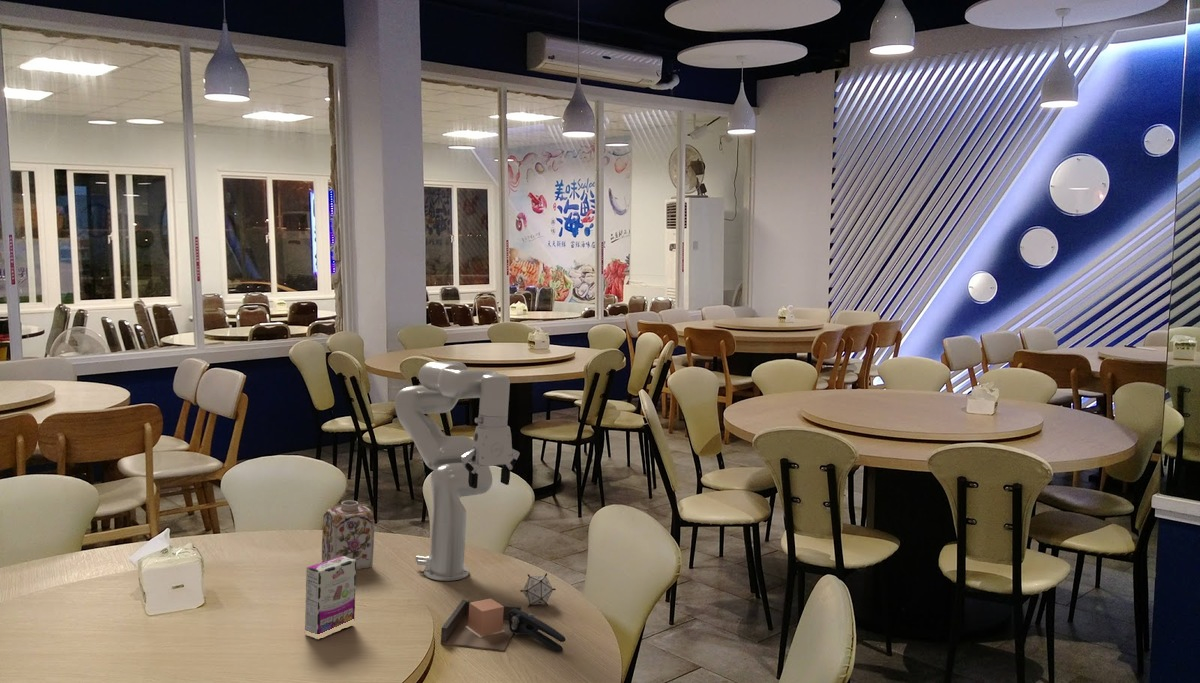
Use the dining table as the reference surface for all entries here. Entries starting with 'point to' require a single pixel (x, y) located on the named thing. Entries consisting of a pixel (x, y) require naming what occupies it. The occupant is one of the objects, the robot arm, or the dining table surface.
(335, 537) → the decorative jar
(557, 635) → the can opener
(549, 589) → the game die
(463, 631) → the tray
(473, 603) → the cube
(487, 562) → the dining table surface
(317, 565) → the candy bar box
